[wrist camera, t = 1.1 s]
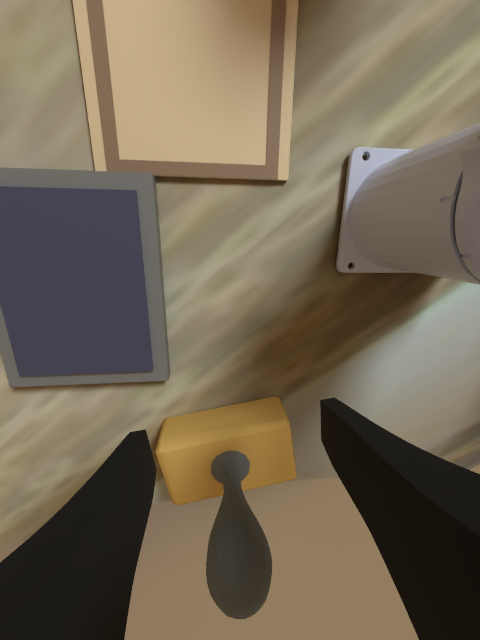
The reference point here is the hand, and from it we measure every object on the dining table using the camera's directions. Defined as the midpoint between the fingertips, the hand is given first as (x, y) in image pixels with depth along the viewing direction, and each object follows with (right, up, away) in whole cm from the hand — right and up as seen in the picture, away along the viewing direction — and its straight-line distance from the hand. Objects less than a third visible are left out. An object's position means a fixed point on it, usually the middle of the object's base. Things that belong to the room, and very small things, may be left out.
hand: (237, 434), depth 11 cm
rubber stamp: (-1, -5, +13) cm, 14 cm away
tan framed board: (-3, +21, +4) cm, 21 cm away
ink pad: (-11, +7, +8) cm, 15 cm away
